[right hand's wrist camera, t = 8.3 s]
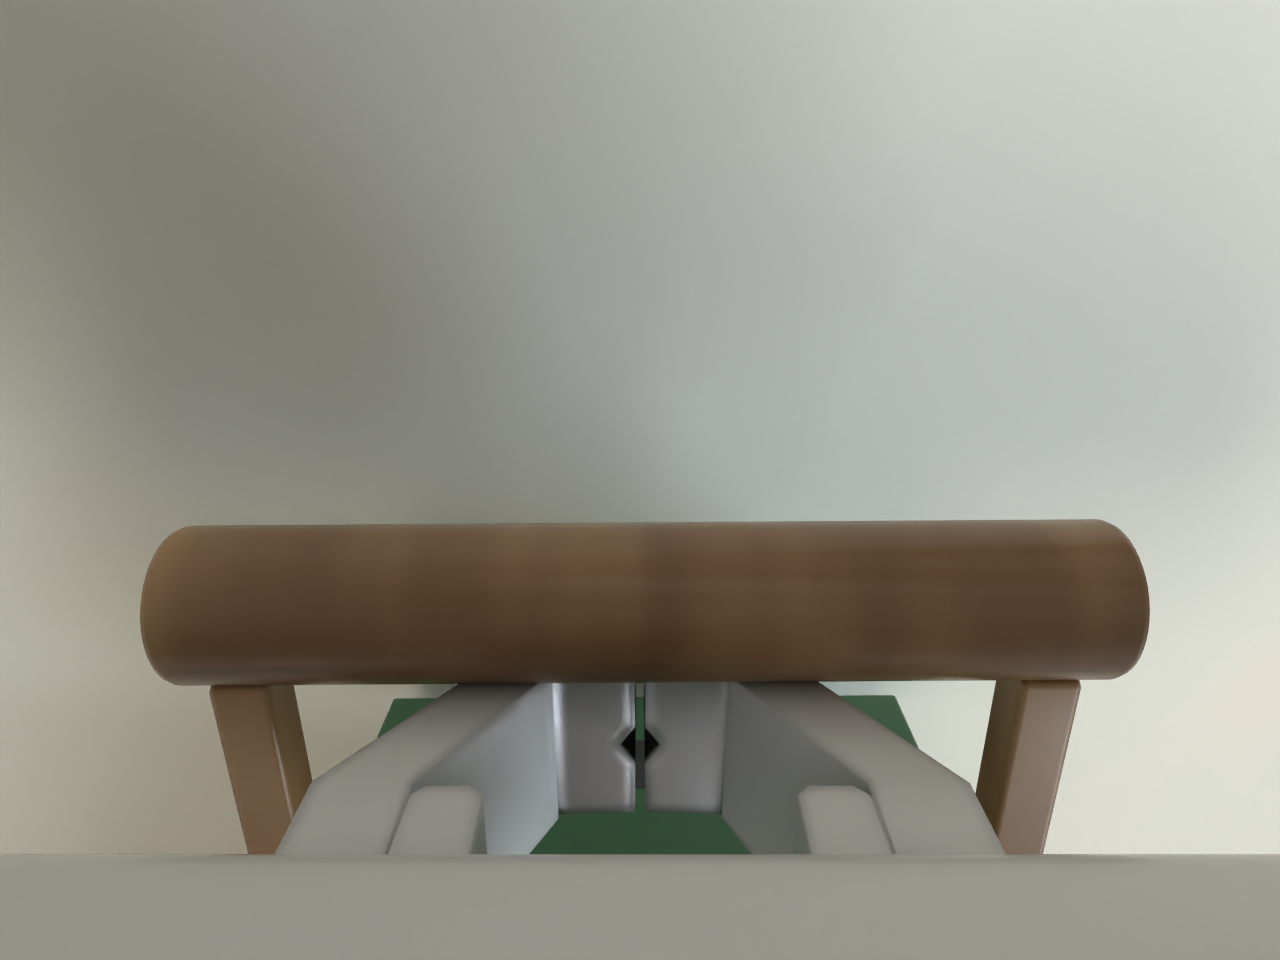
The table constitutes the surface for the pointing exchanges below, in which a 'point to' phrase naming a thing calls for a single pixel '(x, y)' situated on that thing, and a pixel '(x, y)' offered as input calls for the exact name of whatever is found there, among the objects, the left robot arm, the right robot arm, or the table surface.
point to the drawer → (647, 634)
